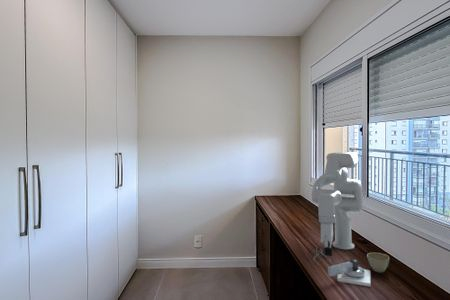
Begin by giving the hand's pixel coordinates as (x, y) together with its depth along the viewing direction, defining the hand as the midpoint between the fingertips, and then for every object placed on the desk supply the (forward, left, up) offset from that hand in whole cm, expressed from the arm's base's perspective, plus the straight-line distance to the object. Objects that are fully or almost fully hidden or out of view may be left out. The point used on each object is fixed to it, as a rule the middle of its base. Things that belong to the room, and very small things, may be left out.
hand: (328, 254), depth 139 cm
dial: (-1, +7, -9) cm, 12 cm away
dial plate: (-5, +11, -11) cm, 16 cm away
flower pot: (-17, +22, -12) cm, 30 cm away
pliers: (-25, -9, -12) cm, 29 cm away
